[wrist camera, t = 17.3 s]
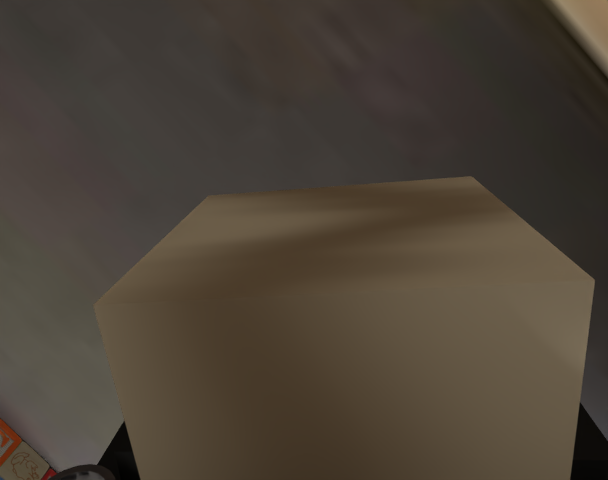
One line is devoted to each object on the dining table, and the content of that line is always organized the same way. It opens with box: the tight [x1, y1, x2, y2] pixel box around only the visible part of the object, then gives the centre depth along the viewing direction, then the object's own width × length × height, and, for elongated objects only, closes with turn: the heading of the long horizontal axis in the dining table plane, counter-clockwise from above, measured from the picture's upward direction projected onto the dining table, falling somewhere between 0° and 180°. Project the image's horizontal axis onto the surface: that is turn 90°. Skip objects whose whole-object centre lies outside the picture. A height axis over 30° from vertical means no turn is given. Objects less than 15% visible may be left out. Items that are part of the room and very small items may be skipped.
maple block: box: [93, 176, 595, 480], centre depth 9 cm, size 6×7×5 cm
